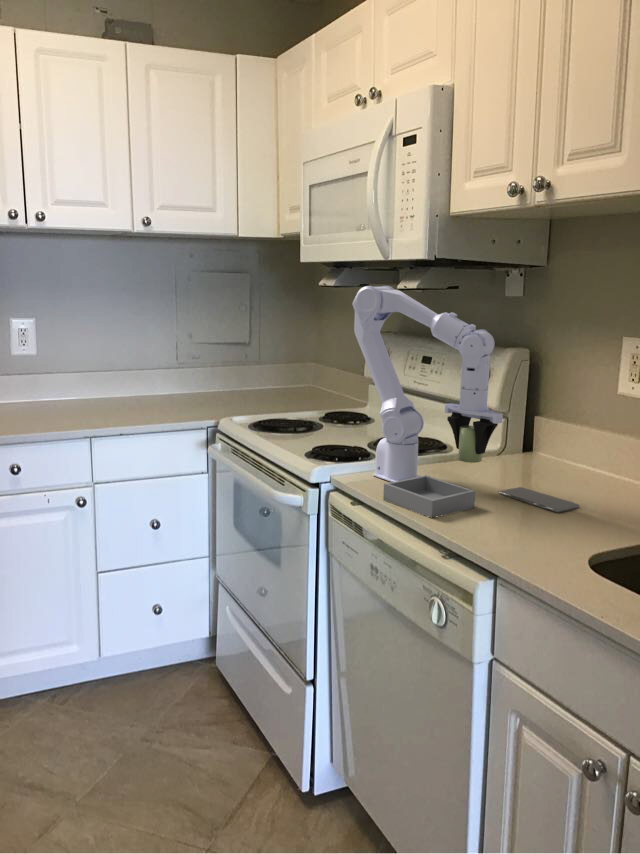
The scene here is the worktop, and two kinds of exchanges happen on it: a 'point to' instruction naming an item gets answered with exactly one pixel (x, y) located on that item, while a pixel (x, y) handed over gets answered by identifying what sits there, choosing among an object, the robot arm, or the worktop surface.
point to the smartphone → (540, 500)
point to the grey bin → (429, 496)
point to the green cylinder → (468, 445)
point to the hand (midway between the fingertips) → (470, 450)
